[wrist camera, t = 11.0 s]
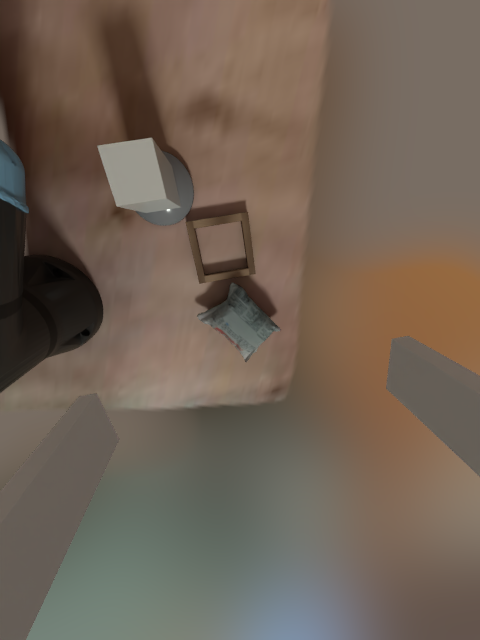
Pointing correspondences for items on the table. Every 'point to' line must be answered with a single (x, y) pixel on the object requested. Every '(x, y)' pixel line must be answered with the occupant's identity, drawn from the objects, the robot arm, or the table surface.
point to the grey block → (140, 176)
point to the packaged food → (240, 321)
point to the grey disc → (184, 193)
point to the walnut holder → (196, 252)
